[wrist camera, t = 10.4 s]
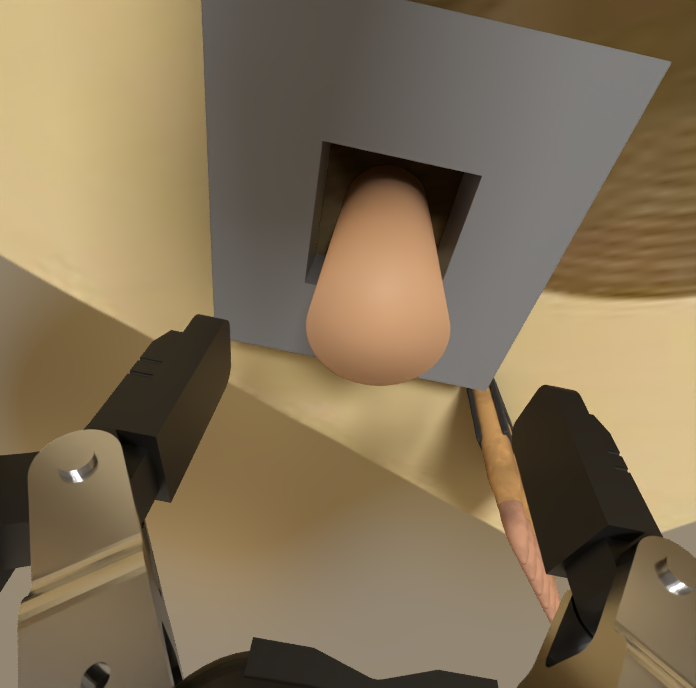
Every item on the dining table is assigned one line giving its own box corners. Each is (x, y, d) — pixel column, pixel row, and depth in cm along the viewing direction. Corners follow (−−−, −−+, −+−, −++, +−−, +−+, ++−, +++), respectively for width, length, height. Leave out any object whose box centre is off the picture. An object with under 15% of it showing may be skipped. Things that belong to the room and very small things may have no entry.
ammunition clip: (464, 378, 27) (498, 557, 18) (491, 370, 27) (541, 552, 17) (503, 466, 33) (544, 639, 24) (526, 462, 32) (579, 638, 23)
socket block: (234, -34, 16) (199, -49, 13) (625, 57, 16) (671, 61, 13) (234, 304, 25) (215, 337, 23) (476, 353, 26) (485, 391, 23)
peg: (351, 156, 19) (315, 253, 11) (439, 175, 20) (472, 286, 11) (337, 240, 22) (299, 371, 13) (414, 256, 22) (425, 396, 14)
